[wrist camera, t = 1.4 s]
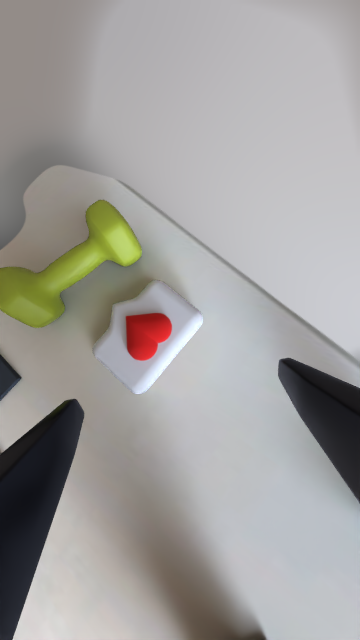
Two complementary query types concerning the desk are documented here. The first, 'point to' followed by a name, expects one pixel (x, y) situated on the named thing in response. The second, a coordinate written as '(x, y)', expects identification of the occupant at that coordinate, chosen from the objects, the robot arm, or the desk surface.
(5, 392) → the mat
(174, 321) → the icon
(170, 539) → the desk surface
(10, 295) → the dumbbell
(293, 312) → the desk surface
